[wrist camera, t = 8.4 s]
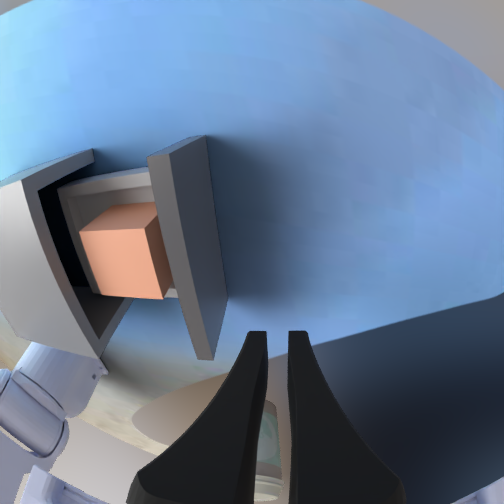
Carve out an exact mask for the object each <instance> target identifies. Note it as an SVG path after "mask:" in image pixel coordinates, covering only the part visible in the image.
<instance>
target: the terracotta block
mask: <svg viewBox="0 0 504 504" xmlns="http://www.w3.org/2000/svg"><path fill="white" fill-rule="evenodd" d="M79 233H80V236H81V240H82V243H83V246H84V249H85V252H86V254H87V257H88V260H89V263H90V266H91V268H92V271H93V274H94V276H95V279H96V281H97V284H98V286H99V289H100V291H101V294H102V295H108V296H120V297H133V298H148V299H164V297H165V295H166V293H167V291H168V289H169V287H170V285H171V283H172V281H173V277H172V273H171V269H170V265H169V261H168V257H167V253H166V249H165V245H164V241H163V237H162V232H161V228H160V224H159V219H158V215H157V210H156V205H155V202H144V203H132V204H121V205H112V206H110V207H109V208H108V209H107V210H105V211H104V212H103V213H101V214H100V215H99V216H98V217H96V218H95V219H94V220H93V221H91V222H90V223H89V224H88V225H87V226H85V227H84V228H83V229H82V230H81V231H79Z"/></svg>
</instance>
